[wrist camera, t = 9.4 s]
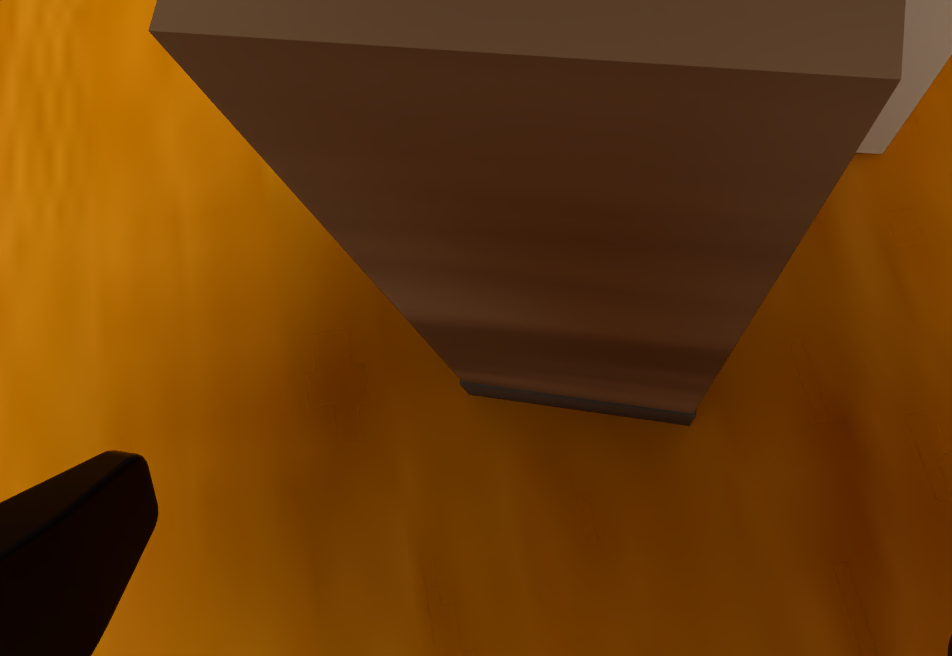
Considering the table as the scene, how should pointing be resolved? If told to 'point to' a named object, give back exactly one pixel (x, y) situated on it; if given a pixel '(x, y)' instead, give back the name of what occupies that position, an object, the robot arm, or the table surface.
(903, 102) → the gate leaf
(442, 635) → the table surface
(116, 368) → the table surface
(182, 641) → the table surface
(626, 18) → the doorstop post
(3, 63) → the table surface
